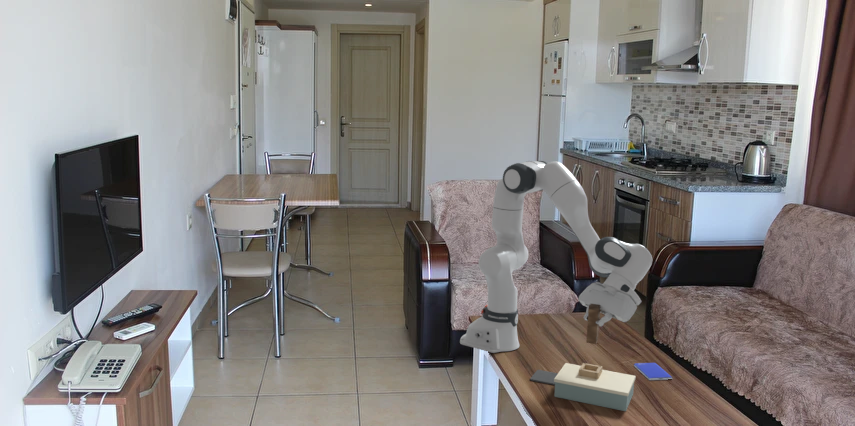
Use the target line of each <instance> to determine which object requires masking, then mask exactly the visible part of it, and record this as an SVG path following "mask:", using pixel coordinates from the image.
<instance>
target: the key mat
mask: <svg viewBox="0 0 855 426" xmlns="http://www.w3.org/2000/svg"><path fill="white" fill-rule="evenodd" d="M558 373H559V372H558ZM558 373H557V372H553V371H547V370H542V369H536V371H535V372H534V373H533V374H532V376H531V377H530V378H529V381H532V382H536V383H542V384H546V385H552V386H555V382H554V378H555V377H556V376H557V374H558Z"/></svg>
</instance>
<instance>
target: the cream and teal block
mask: <svg viewBox="0 0 855 426" xmlns="http://www.w3.org/2000/svg"><path fill="white" fill-rule="evenodd" d="M636 379H637V377H636V375H635V374H634V375H633V374H627V373H622V372H619V371H618V372H615V371H611V370H607V369H603V365H596V364H591V363H587V362H582V364H581V365H578V364H574V363H568V362H565V363H564V364H563V366H562V368H561V369H560V370H559V371H558V374H557V376H556V377H555V378H554V382H555V385H554V397H555V398H559V399H564V400H569V401H574V402H579V403H584V404H589V405H593V406H598V407H602V408H603V407H604V408H608V409H613V410H618V411H621V412H622V411H623V412H627V410H628V407H629V405H630V403H631V400H632V398H633V395H634V391H635V390H634V389H635V381H636Z"/></svg>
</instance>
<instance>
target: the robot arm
mask: <svg viewBox="0 0 855 426" xmlns="http://www.w3.org/2000/svg"><path fill="white" fill-rule="evenodd" d="M541 191H544V193H545V194H546V195H547V196H548V198H549V199H550V201H551V203H552V204H553V205H554V207H555V208H556V209H557V211H558V212H559V213H560V214H561V216H562V218H563V219H564V220H565V222H566V223H567V224H568V225H569V227H570V229H571V231H572V232H573V233H574V235H575V236H576V238H577V240H578V242H579V243H580V244H581V246H582V248H583V250H584V251H585V254H586V255H587V259H588V264H589V268H590V270H591V272H592V273H593V274H594V275H596V276H598V277H600V278H606V279H605V281H604V282H603V283H601V282H600V281H595V282H592V283H591V284H589V285H588V286H587V287H585V289H584V290H583V291H582V292H581V293H580V294H579V295H578V301H579V303H580V304H581V305H582V306H584V307H586V311H585V314H584V315H583V319H584V321H587V322H588V311H589V305H590V304H598V305H600V314H603V315H604V316H602V317H601V318H598V320H597V321H596V324H597V325H598V326H599V327H601V328H602V327H603V326H604V324H606V323H608V322H610V321H611V319H612V318H613V319H616V320H618V321H620V322H623V323H627V322H628V321H629V320H631V318H632V317H633V315H634V314H635V313H636V311H637V308H638V306H639V305H640V304H641V303H642V300H641V298H640V296H639V295H638V294H637V292H636V291H635V289H636V287H637V286H638V284H639V282H641V281H642V280H643V279H644V277H645V276H646V275H647V274H648V272H649V270H650V268H651V266H652V265H653V255H652V254H651V252H650V250H649V249H648V248H647V247H645V246H644V245H642V244H640V243H628V242H625V241H622V240H619V239H618V238H616V237H613V236H604V237H602V238H600V237H599V235H598V233H597V232H596V230H595V229H594V227H593V226H592V223H591V221H590V217H589V211H588V197H587V195H586V194H587V193H585V190H584V188H583V186H582V185H581V184H580V182H579V181H578V179H577V178H576V177H575V175H574V174H573V173H572V172H571V171H570V170H569V169H568V167H566V166H565V165H564V164H563V163H562V162H561V161H556V160H553V161H549V162H546V161H544V160H528V161H524V162H516V163H514V164H511V165H509V166H508V167H506V168H505V170H504V172H503V175H502V178H500V179H499V180H498V181H497V184H496V186H495V192H494V196H493V203H492V216H491V218H492V219H491V228H492V230H493V231H494V233H495V236H496V245H495V246H492V247H491V246H490V247H489V248H487V249H485V250H484V251H483V252H482V254H480V256H479V258H478V268H479V270H480V272H481V273H482V274H483V275H484V277H485V281H486V285H487V304H486V305H484V307H483V308H482V310H481V312H480V314H481V316H480V317H478V318H476V319H475V320H474V321H472V322H471V323H470V324H469V325H468V326H467V330H466V333H465V334H463V335H462V336H461V337H460V339H459V343H460V345H462V346H466V347H470V348H474V349H477V350H481V351H485V352H489V353H492V354H496V353H499V352H501V353H502V352H511V351H514V350H517V349H519V348H520V346H521V345H520V342H519V337H518V326H517V325H518V322H519V310H518V292H519V291H518V288H517V286H515V283H514V279H513V273H514V271H517V270H518V269H521V268H522V267H523V266H524V265H526V263H527V261H528V259H529V257H530V256H529V255H530V254H529V253H530V252H529V249H528V248H527V246H526V245H525V241H524V235H523V218H524V207H525V206H524V203H525V197H526V195H527V194H533V193H536V192H541Z"/></svg>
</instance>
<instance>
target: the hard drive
mask: <svg viewBox="0 0 855 426" xmlns="http://www.w3.org/2000/svg"><path fill="white" fill-rule="evenodd" d="M633 367H634V368H635V369H636V370H638V371H639V372H640V373H641V374H642V376H644V377H645V378H646V379H647V380H648V381H667V380H668V379H672V380H673V376H671V374H669V372H667V371H666V370H665V369H663V368H662V367H661V366H660V365H658V364H657V363H656V362H638V363H637V362H636V363H633Z"/></svg>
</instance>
